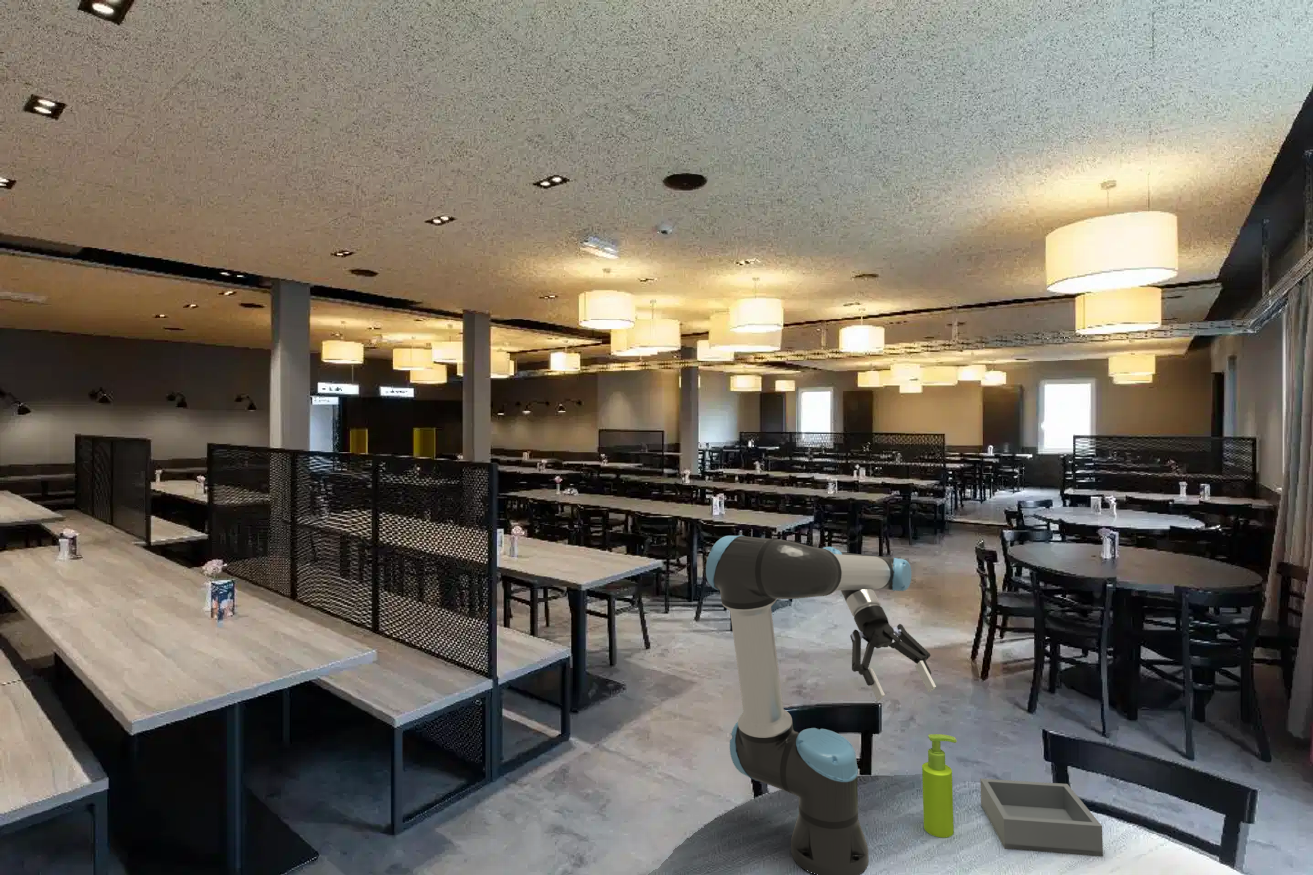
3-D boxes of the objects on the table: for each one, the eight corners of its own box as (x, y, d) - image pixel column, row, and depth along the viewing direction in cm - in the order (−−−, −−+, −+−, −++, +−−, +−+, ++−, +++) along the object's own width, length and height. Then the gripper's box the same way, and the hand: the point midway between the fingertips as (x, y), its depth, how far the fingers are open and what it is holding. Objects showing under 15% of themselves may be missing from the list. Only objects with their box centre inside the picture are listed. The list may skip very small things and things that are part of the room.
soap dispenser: (962, 839, 137) (959, 743, 137) (926, 836, 139) (924, 741, 139) (955, 823, 143) (952, 730, 143) (921, 820, 144) (918, 728, 144)
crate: (1004, 848, 134) (1003, 818, 134) (981, 804, 150) (980, 778, 150) (1102, 856, 131) (1102, 825, 131) (1068, 810, 146) (1067, 783, 146)
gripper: (903, 614, 172) (945, 693, 157) (817, 625, 165) (852, 708, 151) (916, 598, 167) (960, 678, 152) (828, 609, 160) (865, 694, 146)
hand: (907, 693), depth 151 cm, fingers open, 13 cm apart
